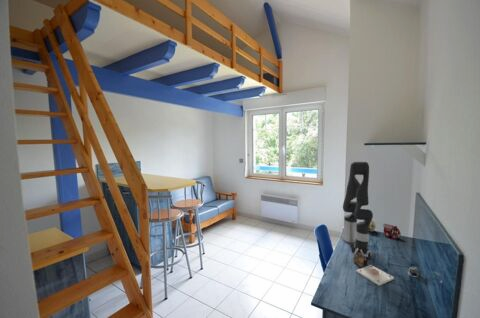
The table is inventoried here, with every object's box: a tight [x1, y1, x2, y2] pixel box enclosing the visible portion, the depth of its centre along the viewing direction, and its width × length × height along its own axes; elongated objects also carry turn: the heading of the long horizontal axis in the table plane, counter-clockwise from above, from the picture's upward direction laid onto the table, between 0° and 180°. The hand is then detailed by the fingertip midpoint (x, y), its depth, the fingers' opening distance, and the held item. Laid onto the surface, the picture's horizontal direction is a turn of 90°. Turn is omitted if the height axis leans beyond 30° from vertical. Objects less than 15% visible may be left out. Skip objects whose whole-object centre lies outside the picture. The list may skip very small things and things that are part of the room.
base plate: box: [356, 264, 395, 287], centre depth 129 cm, size 14×14×3 cm
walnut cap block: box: [353, 253, 369, 268], centre depth 141 cm, size 6×6×6 cm
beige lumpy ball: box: [369, 219, 376, 233], centre depth 194 cm, size 10×12×11 cm
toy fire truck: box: [382, 223, 402, 240], centre depth 182 cm, size 7×12×10 cm, turn 47°
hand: (360, 262), depth 142 cm, fingers closed on walnut cap block, 6 cm apart
